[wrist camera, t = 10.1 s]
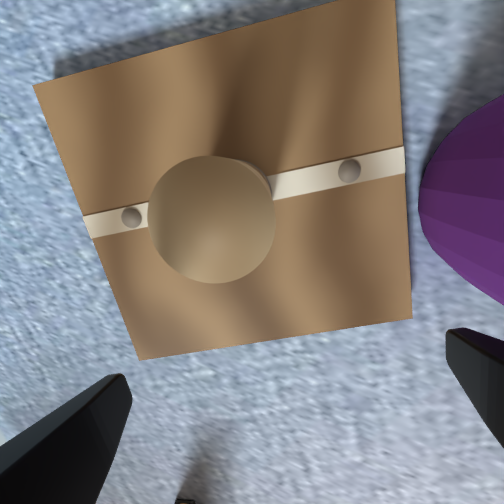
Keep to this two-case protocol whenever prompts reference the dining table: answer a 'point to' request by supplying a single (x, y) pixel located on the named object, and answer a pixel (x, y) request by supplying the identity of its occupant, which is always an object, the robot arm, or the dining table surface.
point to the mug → (469, 199)
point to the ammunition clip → (184, 502)
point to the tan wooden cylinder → (212, 218)
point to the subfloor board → (264, 157)
